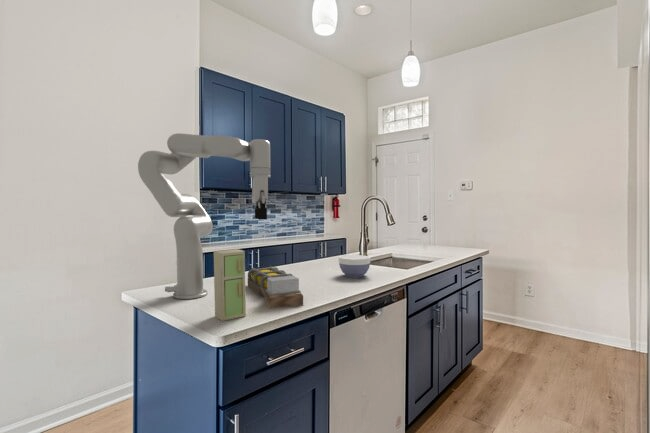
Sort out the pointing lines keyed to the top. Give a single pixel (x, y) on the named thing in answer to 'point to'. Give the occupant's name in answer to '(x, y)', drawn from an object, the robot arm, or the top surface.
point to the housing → (282, 285)
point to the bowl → (354, 265)
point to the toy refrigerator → (229, 284)
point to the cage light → (262, 278)
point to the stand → (284, 300)
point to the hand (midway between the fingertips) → (260, 218)
